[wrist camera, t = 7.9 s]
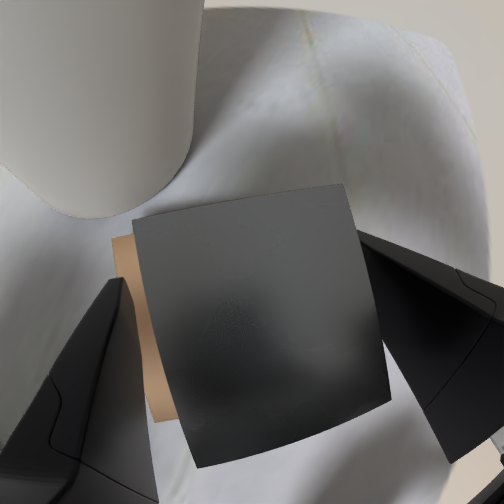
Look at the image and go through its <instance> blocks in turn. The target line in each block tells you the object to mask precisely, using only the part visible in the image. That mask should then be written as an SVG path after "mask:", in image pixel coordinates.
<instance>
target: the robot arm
mask: <svg viewBox="0 0 504 504" xmlns="http://www.w3.org/2000/svg"><path fill="white" fill-rule="evenodd" d="M357 234H358V237H359V241H360V245H361V248H362V252H363V256H364V260H365V264H366V268H367V272H368V276H369V280H370V284H371V288H372V293H373V297H374V302H375V306H376V311H377V316H378V321H379V326H380V331H381V336H382V340H383V342H384V343H385V345H386V347H387V348H388V350H389V352H390V353H391V355H392V357H393V359H394V360H395V362H396V364H397V365H398V367H399V369H400V371H401V372H402V374H403V376H404V378H405V379H406V381H407V383H408V385H409V387H410V388H411V390H412V392H413V394H414V396H415V397H416V399H417V401H418V403H419V405H420V407H421V408H422V410H424V411H423V412H424V414H425V416H426V418H427V420H428V422H429V424H430V426H431V428H432V430H433V431H434V433H435V435H436V437H437V439H438V441H439V443H440V445H441V447H442V449H443V451H444V453H445V455H446V457H447V459H448V461H449V463H450V464H452V463H454V462H455V461H457V460H458V459H460V458H461V457H463V456H464V455H466V454H467V453H469V452H470V451H472V450H473V449H474V448H476V447H477V446H479V445H480V444H481V443H483V442H484V441H485V440H487V439H488V438H490V439H491V440H492V442H493V443H494V445H495V447H496V448H497V450H498V451H499V453H500V454H501V459H500V461H501V463H502V464H503V466H504V288H503V287H500V286H498V285H495V284H493V283H490V282H487V281H485V280H482V279H480V278H477V277H475V276H472V275H470V274H468V273H465V272H463V271H461V270H458V269H454V268H453V267H451V266H449V265H446V264H444V263H441V262H439V261H437V260H434V259H432V258H429V257H427V256H424V255H422V254H419V253H417V252H414V251H412V250H409V249H407V248H404V247H402V246H399V245H396V244H394V243H391V242H389V241H386V240H383V239H381V238H378V237H375V236H373V235H370V234H367V233H365V232H362V231H359V230H357ZM0 504H159V499H158V494H157V488H156V482H155V476H154V470H153V464H152V457H151V450H150V442H149V434H148V426H147V416H146V406H145V394H144V380H143V364H142V354H141V347H140V341H139V334H138V328H137V321H136V314H135V306H134V302H133V299H132V296H131V293H130V291H129V288H128V285H127V282H126V280H125V278H124V277H118V278H113V279H110V280H108V282H107V283H106V284H105V286H104V287H103V289H102V290H101V292H100V293H99V294H98V296H97V297H96V299H95V300H94V302H93V303H92V305H91V306H90V308H89V309H88V311H87V312H86V314H85V315H84V317H83V318H82V320H81V321H80V323H79V324H78V326H77V327H76V329H75V330H74V332H73V334H72V335H71V337H70V338H69V340H68V342H67V343H66V345H65V346H64V348H63V350H62V351H61V353H60V355H59V356H58V358H57V360H56V361H55V363H54V365H53V366H52V368H51V370H50V371H49V375H47V376H46V378H45V380H44V382H43V384H42V385H41V387H40V389H39V390H38V392H37V394H36V396H35V397H34V399H33V401H32V403H31V404H30V406H29V407H28V409H27V411H26V412H25V414H24V415H23V417H22V419H21V420H20V422H19V423H18V425H17V427H16V428H15V430H14V431H13V433H12V435H11V436H10V438H9V439H8V441H7V443H6V444H5V446H4V448H3V449H2V451H1V453H0ZM467 504H504V469H503V470H502V471H501V472H500V473H499V474H498V475H497V477H496V478H494V479H493V480H492V481H491V483H489V484H488V485H487V486H486V487H485V488H484V489H483V490H482V491H481V492H480V493H479V494H478V495H476V497H474V498H473V499H472V500H471V501H470V502H469V503H467Z"/></svg>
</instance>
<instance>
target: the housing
mask: <svg viewBox="0 0 504 504" xmlns="http://www.w3.org/2000/svg"><path fill="white" fill-rule="evenodd" d="M132 225H133V231H134V238H135V244H136V250H137V255H138V261H139V266H140V272H141V277H142V282H143V287H144V292H145V296H146V301H147V305H148V310H149V314H150V319H151V323H152V327H153V331H154V335H155V339H156V343H157V347H158V351H159V354H160V358H161V362H162V365H163V369H164V372H165V376H166V379H167V383H168V386H169V389H170V393H171V396H172V399H173V402H174V405H175V408H176V411H177V414H178V417H179V420H180V423H181V426H182V429H183V432H184V435H185V438H186V440H187V443H188V446H189V449H190V451H191V454H192V456H193V459H194V462H195V464H196V467H197V469H198V468H203V467H208V466H213V465H217V464H222V463H226V462H230V461H234V460H238V459H242V458H245V457H249V456H253V455H256V454H260V453H263V452H266V451H270V450H273V449H276V448H279V447H282V446H285V445H288V444H291V443H294V442H297V441H299V440H302V439H305V438H308V437H310V436H313V435H316V434H318V433H321V432H323V431H326V430H328V429H331V428H333V427H335V426H338V425H340V424H342V423H345V422H347V421H349V420H352V419H354V418H356V417H358V416H360V415H362V414H364V413H367V412H369V411H371V410H373V409H375V408H377V407H379V406H381V405H383V404H385V403H387V402H389V401H391V400H392V399H391V391H390V384H389V377H388V371H387V365H386V359H385V353H384V347H383V341H382V336H381V331H380V326H379V321H378V316H377V311H376V306H375V302H374V297H373V293H372V288H371V284H370V280H369V276H368V272H367V268H366V264H365V260H364V256H363V252H362V248H361V245H360V241H359V237H358V234H357V230H356V227H355V223H354V220H353V216H352V213H351V210H350V206H349V203H348V200H347V197H346V194H345V190H344V187H343V184H337V185H329V186H322V187H314V188H307V189H300V190H293V191H287V192H280V193H274V194H267V195H261V196H255V197H249V198H243V199H237V200H231V201H226V202H220V203H215V204H209V205H204V206H198V207H193V208H188V209H183V210H178V211H173V212H168V213H163V214H158V215H153V216H149V217H144V218H139V219H135V220H132Z"/></svg>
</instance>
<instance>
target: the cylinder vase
mask: <svg viewBox="0 0 504 504" xmlns="http://www.w3.org/2000/svg"><path fill="white" fill-rule="evenodd" d="M203 8H204V0H0V163H1V164H2V165H3V166H4V167H5V168H6V169H7V170H8V171H9V172H10V173H11V174H13V175H14V176H15V177H16V178H17V179H18V180H19V181H20V182H22V183H23V184H24V185H25V186H26V187H27V188H28V189H30V190H31V191H32V192H33V193H34V194H35V195H37V196H38V197H39V198H40V199H41V200H42V201H44V202H45V203H46V204H47V205H48V206H50V207H51V208H53V209H54V210H56V211H58V212H60V213H62V214H65V215H68V216H71V217H76V218H84V219H98V218H106V217H111V216H115V215H118V214H121V213H124V212H127V211H129V210H131V209H133V208H135V207H137V206H139V205H141V204H143V203H144V202H146V201H148V200H149V199H150V198H152V197H153V196H155V195H156V194H157V193H158V192H159V191H161V190H162V189H163V188H164V187H165V186H166V185H167V184H168V183H169V182H170V180H171V179H172V178H173V177H174V176H175V174H176V173H177V171H178V170H179V168H180V167H181V165H182V164H183V162H184V160H185V158H186V156H187V153H188V151H189V148H190V144H191V140H192V135H193V121H194V104H195V90H196V77H197V65H198V54H199V43H200V34H201V25H202V16H203Z"/></svg>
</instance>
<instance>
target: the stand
mask: <svg viewBox="0 0 504 504" xmlns="http://www.w3.org/2000/svg"><path fill="white" fill-rule="evenodd" d="M112 246H113V253H114V259H115V266H116V272H117V278H118V277H124V278H125V280H126V282H127V285H128V288H129V291H130V293H131V296H132V299H133V302H134V306H135V314H136V321H137V328H138V334H139V341H140V347H141V354H142V364H143V380H144V391H145V394H146V398H147V401H148V404H149V407H150V410H151V413H152V416H153V419H154V422H155V423H157V422H163V421H168V420H174V419H179V417H178V414H177V411H176V408H175V405H174V402H173V399H172V396H171V393H170V389H169V386H168V383H167V379H166V376H165V372H164V369H163V365H162V362H161V358H160V354H159V351H158V347H157V343H156V339H155V335H154V331H153V327H152V323H151V319H150V314H149V310H148V305H147V301H146V296H145V292H144V287H143V282H142V277H141V272H140V266H139V261H138V255H137V250H136V244H135V238H134V234H130V235H125V236H121V237H116V238H112Z"/></svg>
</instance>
